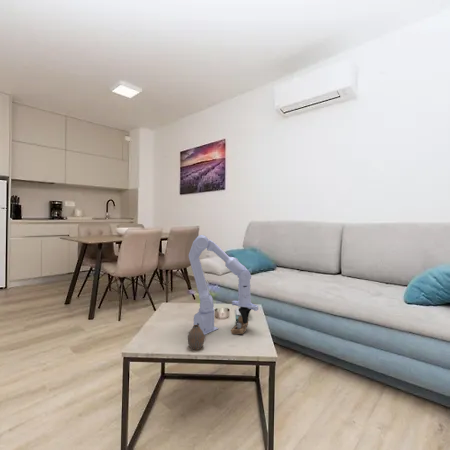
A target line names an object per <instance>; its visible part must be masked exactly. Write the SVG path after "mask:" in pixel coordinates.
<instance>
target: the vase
mask: <svg viewBox="0 0 450 450" xmlns="http://www.w3.org/2000/svg"><path fill="white" fill-rule="evenodd" d="M205 339H206V336H205V335H204V333H203V331H202V330H201V328H200V327H199V325H194V324H193V326H192V327H191V329H190V330H189V332H188V333H187V345H188V347H189V348H190V349H192V350H200V349H201V348H202V347H203V346H204V344H205Z"/></svg>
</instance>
